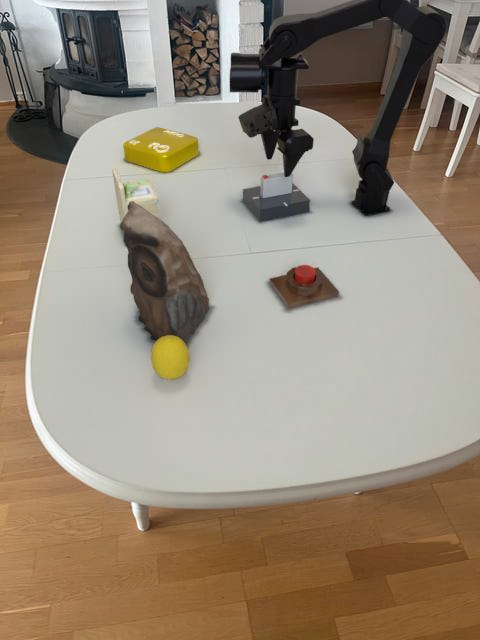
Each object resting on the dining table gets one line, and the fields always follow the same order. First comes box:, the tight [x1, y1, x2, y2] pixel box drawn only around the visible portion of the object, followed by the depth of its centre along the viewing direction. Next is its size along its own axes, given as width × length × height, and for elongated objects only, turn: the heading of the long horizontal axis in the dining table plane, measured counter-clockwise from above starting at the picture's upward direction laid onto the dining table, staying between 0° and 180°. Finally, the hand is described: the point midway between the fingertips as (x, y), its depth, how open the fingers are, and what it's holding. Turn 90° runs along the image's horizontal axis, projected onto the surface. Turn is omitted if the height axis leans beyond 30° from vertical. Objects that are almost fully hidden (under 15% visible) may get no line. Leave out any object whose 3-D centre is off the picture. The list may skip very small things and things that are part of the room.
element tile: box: [122, 126, 200, 173], centre depth 136 cm, size 15×15×5 cm
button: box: [294, 264, 316, 284], centre depth 92 cm, size 4×4×2 cm
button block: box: [269, 266, 340, 310], centre depth 94 cm, size 10×8×3 cm
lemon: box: [150, 335, 191, 381], centre depth 76 cm, size 6×6×8 cm
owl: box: [119, 201, 211, 345], centre depth 81 cm, size 13×13×20 cm
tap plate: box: [242, 182, 311, 223], centre depth 117 cm, size 12×11×3 cm
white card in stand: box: [260, 172, 294, 198], centre depth 114 cm, size 7×2×5 cm, turn 111°
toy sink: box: [111, 168, 159, 233], centre depth 105 cm, size 8×7×13 cm
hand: (277, 167), depth 112 cm, fingers open, 9 cm apart
